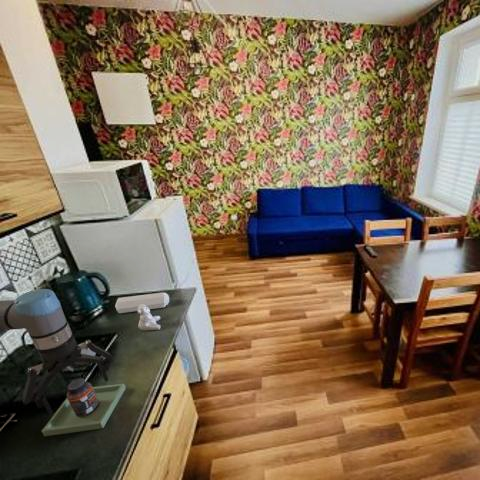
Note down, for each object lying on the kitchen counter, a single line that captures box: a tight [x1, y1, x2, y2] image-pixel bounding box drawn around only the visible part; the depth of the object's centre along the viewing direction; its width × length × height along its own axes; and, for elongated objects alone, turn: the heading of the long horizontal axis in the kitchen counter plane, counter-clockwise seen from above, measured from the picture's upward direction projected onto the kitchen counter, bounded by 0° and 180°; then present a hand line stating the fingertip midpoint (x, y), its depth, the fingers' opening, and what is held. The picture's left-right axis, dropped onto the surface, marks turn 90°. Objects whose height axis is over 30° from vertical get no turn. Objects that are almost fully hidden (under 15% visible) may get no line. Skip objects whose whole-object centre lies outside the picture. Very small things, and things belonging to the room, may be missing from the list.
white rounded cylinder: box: [114, 292, 170, 314], centre depth 133 cm, size 7×7×24 cm
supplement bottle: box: [66, 378, 99, 417], centre depth 83 cm, size 6×6×11 cm
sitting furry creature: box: [136, 304, 162, 332], centre depth 119 cm, size 10×9×12 cm
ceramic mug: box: [62, 342, 97, 372], centre depth 100 cm, size 11×8×8 cm
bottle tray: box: [41, 383, 127, 437], centre depth 85 cm, size 16×14×2 cm
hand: (79, 394), depth 83 cm, fingers open, 13 cm apart
